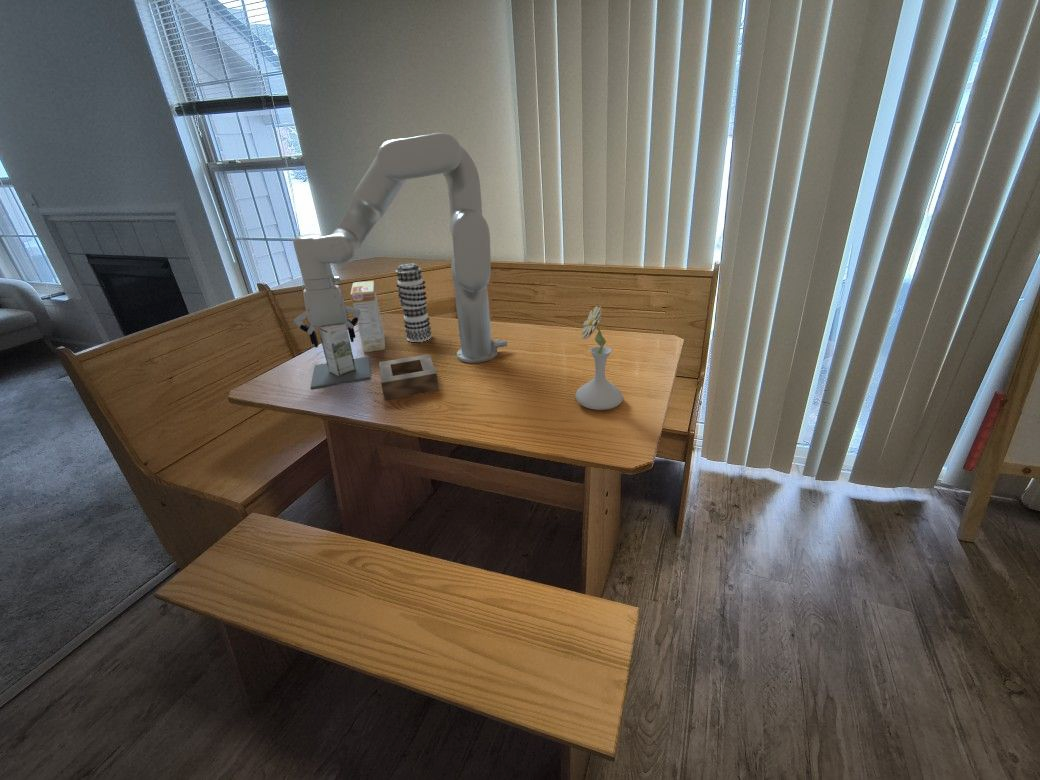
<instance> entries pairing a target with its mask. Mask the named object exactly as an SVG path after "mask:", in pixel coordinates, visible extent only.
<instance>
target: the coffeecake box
mask: <svg viewBox="0 0 1040 780" xmlns="http://www.w3.org/2000/svg"><path fill="white" fill-rule="evenodd" d="M350 298H351V301H352V305H353V308H354V309H358V310H360V316H359V319H358V322H357V323H356V325H357V327H358V332H359V336H360V340H361V346H362V349H363V352H364V353H369V352H375V351H376V352H377V351H384V350H386V338H385V337H386V336H385V334H386V333H385V330H384V327H383V326H384V325H383V320H382V316H381V315H382V314H381V312H380V307H379V306H380V305H379V301H378V298H377V291H376V287H375V281H374V280H368V281H367V280H366V281H356V282H353V283H352V285H351V290H350Z"/></svg>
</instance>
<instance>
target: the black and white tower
mask: <svg viewBox="0 0 1040 780" xmlns="http://www.w3.org/2000/svg"><path fill="white" fill-rule="evenodd" d="M395 272H396V273H397V284H396V287H397V293H398V298H400V299H399V303H400V307H401V308H402V309H403V310H402V311H403V318H404V319H403V324H404V327H405V333H406V334H405V336H406V340H408V341H410V342H409V343H411V342H421V343H424V342H423V341H425V342H427V341H426V340H428V341H429V339H430V338H431V337H432V331H431V329H432V327H431V326H430V324H431V323H430V318H429V312H428V311H427V306H428V302H427V301H426V300H427V299H428V298H427V296H426V295H427V292H426V291H424V290H425V289H426V288H427V287H426V285H424V284H426V281H424V279H423V277H422V268H421V267H419V265H418V264H417V263H403V264H399V265H398V267H397V269H395ZM432 338H433V337H432ZM432 338H431V339H432ZM431 339H430V340H431ZM408 341H407V342H408Z"/></svg>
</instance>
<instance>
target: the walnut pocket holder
mask: <svg viewBox="0 0 1040 780" xmlns="http://www.w3.org/2000/svg"><path fill="white" fill-rule="evenodd" d="M433 363H434V362H433V361H432V358H431V355H430V354H429V353H428V354H421V355H416V356H415V355H413V356H408V357H402V358H397V359H396V358H395V359H391V360H385V361H379V362H378V366H379V374H380V375H379V376H380V384H381V387H382V392H383V398H384V401H388V400H394V399H399V398H405V397H409V396H415V394H416V395H421V394H420V393H422V394H426V392H427V393H433V392H438V391H440V389H439V387H440V386H439V380H438V374H437V371H436V368H435V366H434V364H433Z"/></svg>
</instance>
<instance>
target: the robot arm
mask: <svg viewBox="0 0 1040 780" xmlns="http://www.w3.org/2000/svg"><path fill="white" fill-rule="evenodd" d="M441 174H442V175H443V176H444V178H445V181H446V184H447V191H448V192H447V193H448V201H449V202H448V204H449V231H450V235H451V236H452V248H453V249H452V250H453V258H452V261H451V267H450V268H451V269H450V270H451V276H452V283H453V289H454V297H455V298H454V300H455V306H456V315H457V316H456V317H457V323H458V332H459V333H458V334H459V340H460V343H459V344H460V349H458V351H456V358H457V359H458V360H459V361H461V362H464V363H470V364H478V363H485V362H489V361H491V360H493V359H495V358H496V357H497V355H498V348H504V347H505V348H506V347H508V341H507V340H502V339H501V338H497V339H493V338H492V327H491V317H490V305H489V304H490V303H489V292H488V284H489V282H490V279H491V276H492V275H491V273H492V269H491V267H492V266H491V263H492V262H491V257H492V255H491V234H490V233H491V232H490V228H489V223H488V222H487V220H486V218H484V216H483V209H482V208H483V207H482V204H483V203H482V192H481V190H482V189H481V180H480V176H479V171H478V169H477V166H476V163H475V162H474V160H473V158H472V157H471V155H470V154H469V153H468V152H467V150H466V149H465V148H464V147H463V146H462V145H460V143H459V141H458V140H457V138H455V137H454V136H453V135H452V134H450V133H447V132H434V133H429V134H424V135H417V136H412V137H405V138H396V139H389V140H386V141H384V142H383V143H382V144H381V145H380V146H379V148H378V150H377V154H376V156H375V157H374V159H373V161H372V162H371V164H370V165H369V167H368V168H367V170H366V173H364V175H363V177H362V179H361V180H360V182H359V184H358V185H356V188H355V190H354V192H353V194H352V199H351V201H350V204H349V206H348V209H346V211H345V213H344V215H343V216H342V219H341V220H340V222H339V223H338V224H337V226H336V228H335V229H334V231H333V232H332V233H331V234H329V235H323V236H322V235H321V234H315V233H313V234H311V233H308V234H303V235H298V236H295V237H294V238H293V241H292V244H293V247H294V251H295V254H296V259H297V263H298V265H299V270H300V274H301V277H302V282H303V286H304V289H303V302H304V307H305V311H304V312H302V313H301V314H300V315H297V317H295V318H294V320H293V322H294V323H295V325H296V326H298V327H299V328H300V330H302V331H304V332H305V333H307V334H308V335H309V339H310V343H311V345H314V348H315V349H316V348H318V347H319V340H318V337H317V333H316V331H315V328H316V327H317V328H318V327H319V326H327V325H334V324H341V323H344V324H346V326H347V331H348V335H349V340H350V343H354V340H355V338H357V337H356V332H355V329H354V328H355V326H356V325H357V322H358V319H359V316H360V310H358V309H354V307H351V306H347V305H346V302H345V299H344V296H343V293H342V290H341V289H340V287H339V285H338V284H337V283H340V282H341V280H340V276H336V275H334V274H333V270H332V267H331V264H336V265H337V264H338V265H343V264H348V263H350V262H351V261H353V259H354V258H355V257H356V254H357V253H358V252H359V250H360V248H361V247H362V244H363V243H364V241H365V240H366V238H367V237H368V235H369V234H370V232H372V229H373V228H374V226H375V225H376V223H377V222H378V221H379V220H380V219H381V218H383V216H384V215H385V213H386V212H387V211H388V209H389V207H390V206H391V204H392V203H393V201H394V200H395V198H396V197H397V195H398V193H399V192H400V190H402V188H403V185H404V184H405V182H406V181H407V180H411V179H412V180H413V179H418V178H424V177H430V176H436V175H441ZM348 313H350V314H353V315H354V316H353V318H352V319H349V315H348ZM306 318H307V320H308V321H307V322H308V324H309V326H308V325H307V324H306V323H305V324H304V323H303V320H305V319H306Z"/></svg>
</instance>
